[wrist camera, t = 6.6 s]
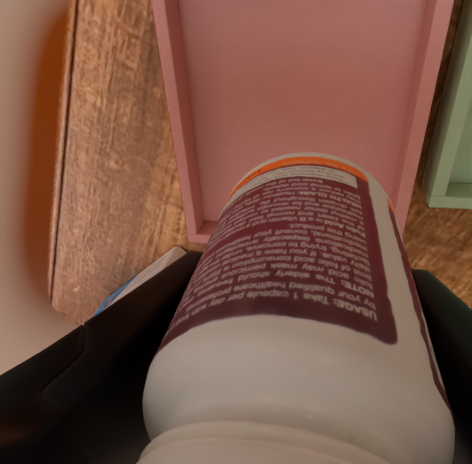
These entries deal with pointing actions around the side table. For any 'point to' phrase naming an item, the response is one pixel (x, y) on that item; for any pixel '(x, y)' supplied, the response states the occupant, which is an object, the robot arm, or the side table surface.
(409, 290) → the pill bottle
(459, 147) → the sage tray
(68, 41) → the side table surface
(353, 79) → the rose tray
